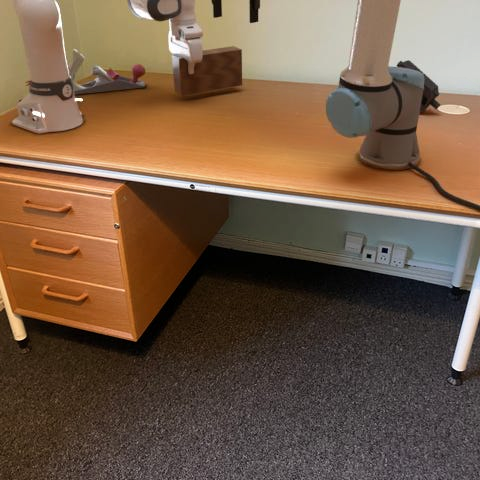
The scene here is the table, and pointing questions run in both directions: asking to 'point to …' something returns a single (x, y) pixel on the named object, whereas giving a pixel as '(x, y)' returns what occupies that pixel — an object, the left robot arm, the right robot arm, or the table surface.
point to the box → (209, 71)
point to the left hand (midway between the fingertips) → (186, 71)
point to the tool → (429, 87)
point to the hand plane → (104, 78)
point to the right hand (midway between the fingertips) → (235, 19)
